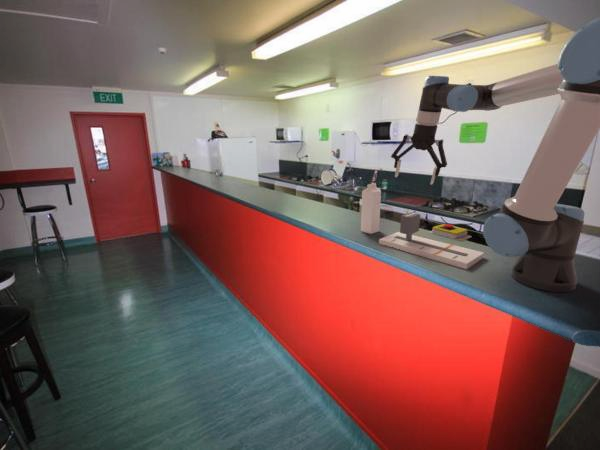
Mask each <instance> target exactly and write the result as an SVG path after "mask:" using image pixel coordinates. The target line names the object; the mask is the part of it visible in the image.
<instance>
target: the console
mask: <svg viewBox="0 0 600 450" xmlns="http://www.w3.org/2000/svg"><path fill="white" fill-rule="evenodd" d="M378 244H379V245H382V246H385V245H386V247H389V248H392V247H393V248H392V249H395V248H396V249H395V250H399V249H400V250H399V251H402V250H403V252H407V253H409V252H410V254H413V255H416V256H419V257H423V258H427V259H430V260H433V261H437V262H441V263H443V264H447V265H450V266H454V267H457V268H460V269H464V270H468V269H470V268H471V267H472V266H474V265H475V264H476V263H478V262H479V261H481V260H483V259H484V256H485V252H483V251H479V250H475V249H473V248H466V247H463V246H458V245H456V244H451V243H447V242H441V241H438V240H434V239H430V238H425V237H421V236H417V235H413V234H412V239H411V240H407V239H406V234H403V233H400V231H397V232H394V233H392V234H389V235H386V236H383V237H381V238H379V240H378Z"/></svg>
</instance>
